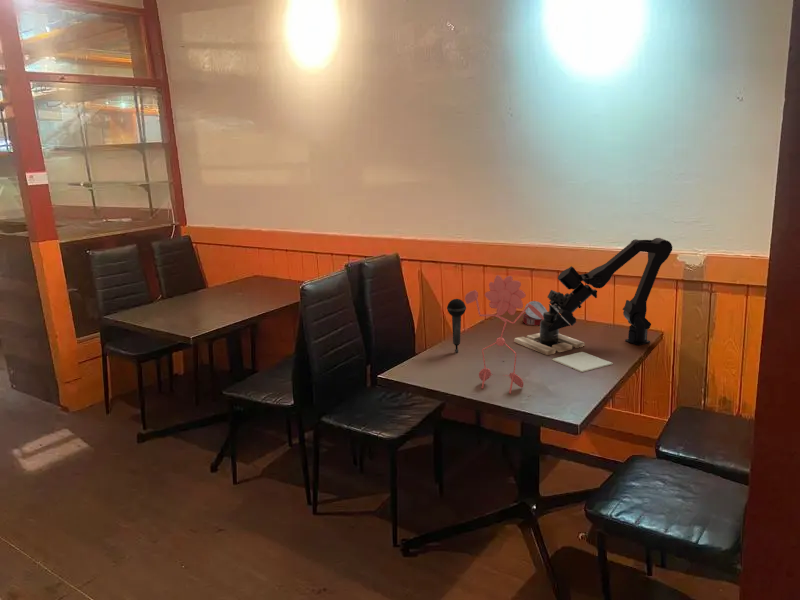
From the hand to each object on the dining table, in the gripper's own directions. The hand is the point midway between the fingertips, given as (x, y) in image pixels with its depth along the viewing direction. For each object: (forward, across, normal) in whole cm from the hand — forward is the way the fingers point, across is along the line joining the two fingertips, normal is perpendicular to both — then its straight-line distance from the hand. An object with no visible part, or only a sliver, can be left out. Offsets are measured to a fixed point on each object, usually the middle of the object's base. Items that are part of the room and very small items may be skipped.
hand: (545, 327), depth 231 cm
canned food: (+3, -29, +7) cm, 30 cm away
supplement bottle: (+4, 0, +6) cm, 7 cm away
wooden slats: (+4, 0, +6) cm, 7 cm away
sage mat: (-1, +20, +10) cm, 23 cm away
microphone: (+29, +7, -19) cm, 35 cm away
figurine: (+20, +38, -10) cm, 44 cm away
